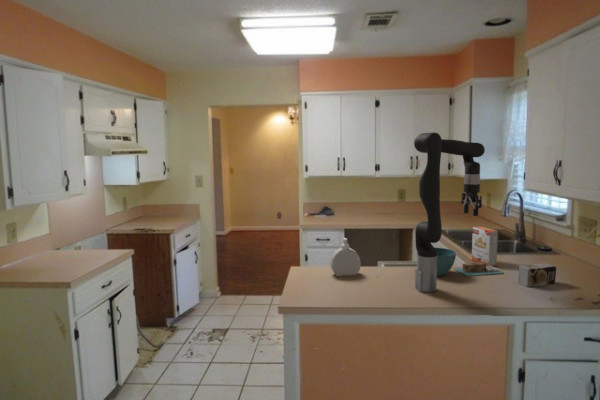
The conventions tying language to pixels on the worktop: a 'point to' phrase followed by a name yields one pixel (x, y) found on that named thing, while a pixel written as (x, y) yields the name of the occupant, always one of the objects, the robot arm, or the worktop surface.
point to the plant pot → (444, 260)
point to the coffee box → (537, 275)
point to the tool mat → (477, 272)
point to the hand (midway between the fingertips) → (470, 214)
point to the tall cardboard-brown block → (478, 267)
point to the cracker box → (484, 245)
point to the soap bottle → (345, 261)
